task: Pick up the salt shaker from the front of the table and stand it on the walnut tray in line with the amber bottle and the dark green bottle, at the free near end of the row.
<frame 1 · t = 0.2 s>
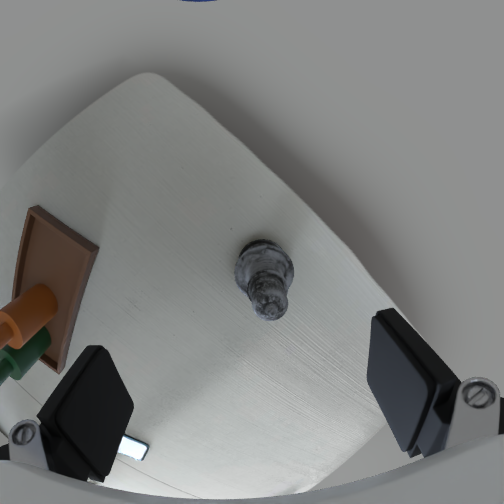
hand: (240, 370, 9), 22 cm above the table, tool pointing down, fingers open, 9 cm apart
salt shaker: (262, 262, 32), on the table
dark green bottle: (39, 333, 33), point 1 cm above the table, touching tray
tray: (47, 296, 32), on the table
amber bottle: (44, 300, 32), point 1 cm above the table, touching tray
smartphone: (108, 436, 41), on the table
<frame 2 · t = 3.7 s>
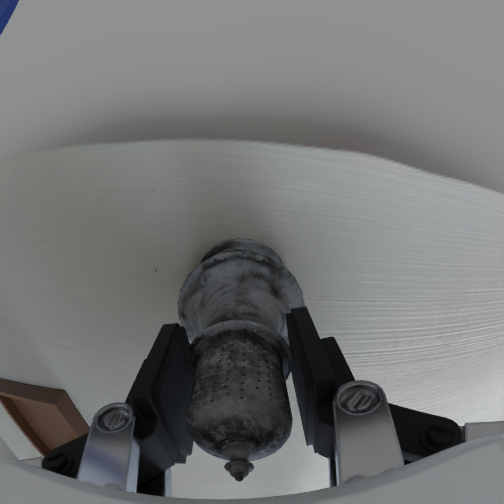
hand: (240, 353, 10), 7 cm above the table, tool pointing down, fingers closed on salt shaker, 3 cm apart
salt shaker: (241, 282, 17), on the table, touching gripper
tray: (79, 454, 22), on the table
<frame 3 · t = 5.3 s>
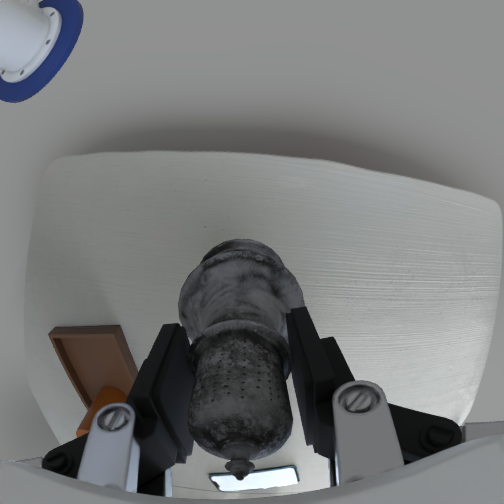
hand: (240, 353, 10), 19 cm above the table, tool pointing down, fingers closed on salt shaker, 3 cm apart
salt shaker: (241, 282, 17), point 12 cm above the table, touching gripper
tray: (115, 394, 34), on the table
amber bottle: (115, 399, 34), point 1 cm above the table, touching tray
smartphone: (254, 478, 40), on the table
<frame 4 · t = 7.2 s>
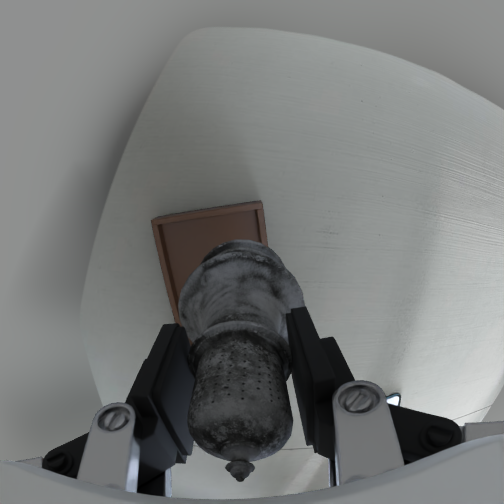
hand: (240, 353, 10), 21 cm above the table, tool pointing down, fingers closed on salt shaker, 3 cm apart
salt shaker: (241, 283, 17), point 14 cm above the table, touching gripper
tray: (225, 308, 32), on the table
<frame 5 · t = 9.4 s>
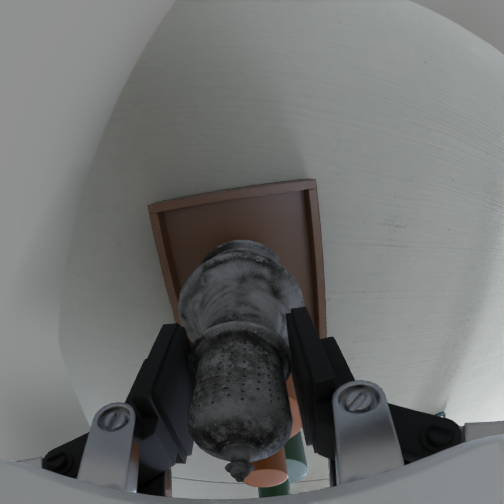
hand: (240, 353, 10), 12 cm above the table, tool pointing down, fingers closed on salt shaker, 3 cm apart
salt shaker: (241, 283, 17), point 5 cm above the table, touching gripper
dark green bottle: (265, 397, 25), point 1 cm above the table, touching tray
tray: (254, 331, 23), on the table
amber bottle: (255, 339, 23), point 1 cm above the table, touching tray
when the fingers open (7 cm above the table, at t = 10.8 s): salt shaker stays where it is, resting on tray.
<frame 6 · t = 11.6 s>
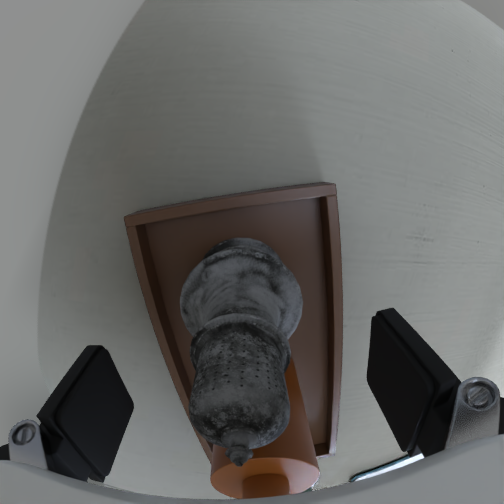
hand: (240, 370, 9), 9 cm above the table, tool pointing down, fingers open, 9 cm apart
salt shaker: (241, 280, 17), resting on tray
tray: (256, 362, 19), on the table
amber bottle: (257, 373, 19), point 1 cm above the table, touching tray
smartphone: (404, 466, 26), on the table
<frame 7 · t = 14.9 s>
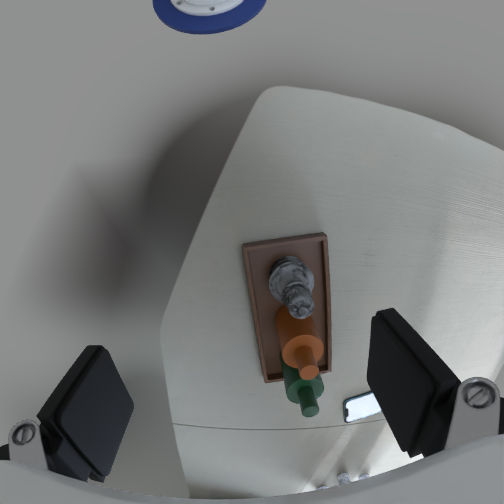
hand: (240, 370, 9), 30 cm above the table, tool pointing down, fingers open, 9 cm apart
salt shaker: (287, 273, 40), resting on tray
dark green bottle: (295, 354, 44), point 1 cm above the table, touching tray
stool: (342, 482, 60), on the table
tray: (291, 312, 42), on the table
amber bottle: (292, 317, 42), point 1 cm above the table, touching tray
smartphone: (379, 399, 49), on the table
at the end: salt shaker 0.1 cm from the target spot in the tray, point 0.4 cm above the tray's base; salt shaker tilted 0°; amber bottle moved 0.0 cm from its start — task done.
